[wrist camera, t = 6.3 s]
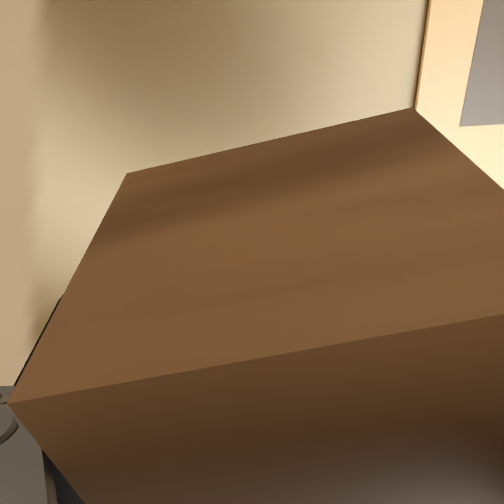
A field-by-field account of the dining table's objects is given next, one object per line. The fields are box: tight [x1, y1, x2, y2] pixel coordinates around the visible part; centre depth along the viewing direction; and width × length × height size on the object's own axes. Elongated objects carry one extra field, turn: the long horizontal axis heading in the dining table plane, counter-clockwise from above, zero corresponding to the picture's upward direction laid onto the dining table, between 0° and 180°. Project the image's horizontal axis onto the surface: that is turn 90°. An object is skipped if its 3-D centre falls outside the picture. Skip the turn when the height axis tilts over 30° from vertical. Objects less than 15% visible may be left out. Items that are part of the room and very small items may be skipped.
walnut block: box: [7, 107, 504, 504], centre depth 9 cm, size 6×6×6 cm
